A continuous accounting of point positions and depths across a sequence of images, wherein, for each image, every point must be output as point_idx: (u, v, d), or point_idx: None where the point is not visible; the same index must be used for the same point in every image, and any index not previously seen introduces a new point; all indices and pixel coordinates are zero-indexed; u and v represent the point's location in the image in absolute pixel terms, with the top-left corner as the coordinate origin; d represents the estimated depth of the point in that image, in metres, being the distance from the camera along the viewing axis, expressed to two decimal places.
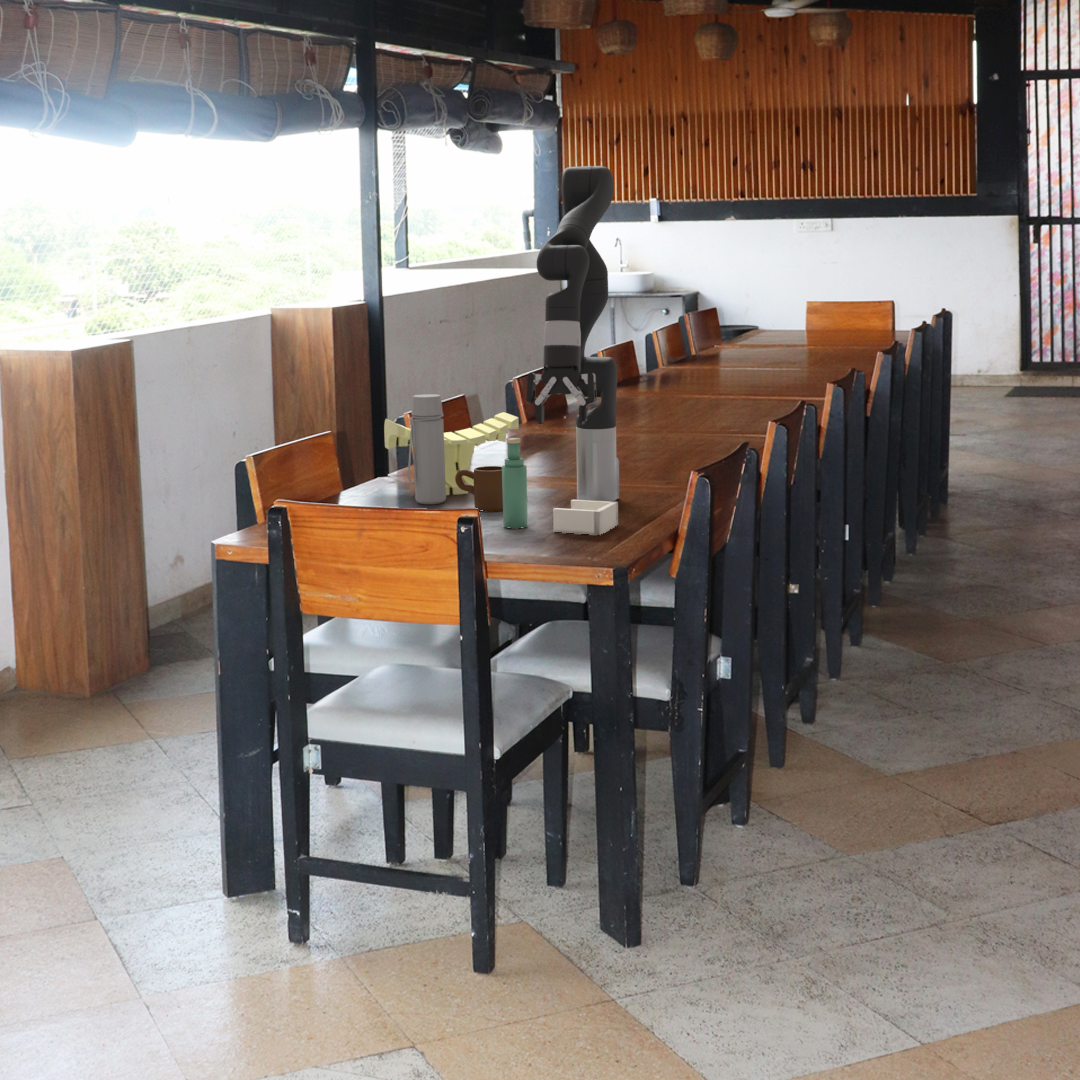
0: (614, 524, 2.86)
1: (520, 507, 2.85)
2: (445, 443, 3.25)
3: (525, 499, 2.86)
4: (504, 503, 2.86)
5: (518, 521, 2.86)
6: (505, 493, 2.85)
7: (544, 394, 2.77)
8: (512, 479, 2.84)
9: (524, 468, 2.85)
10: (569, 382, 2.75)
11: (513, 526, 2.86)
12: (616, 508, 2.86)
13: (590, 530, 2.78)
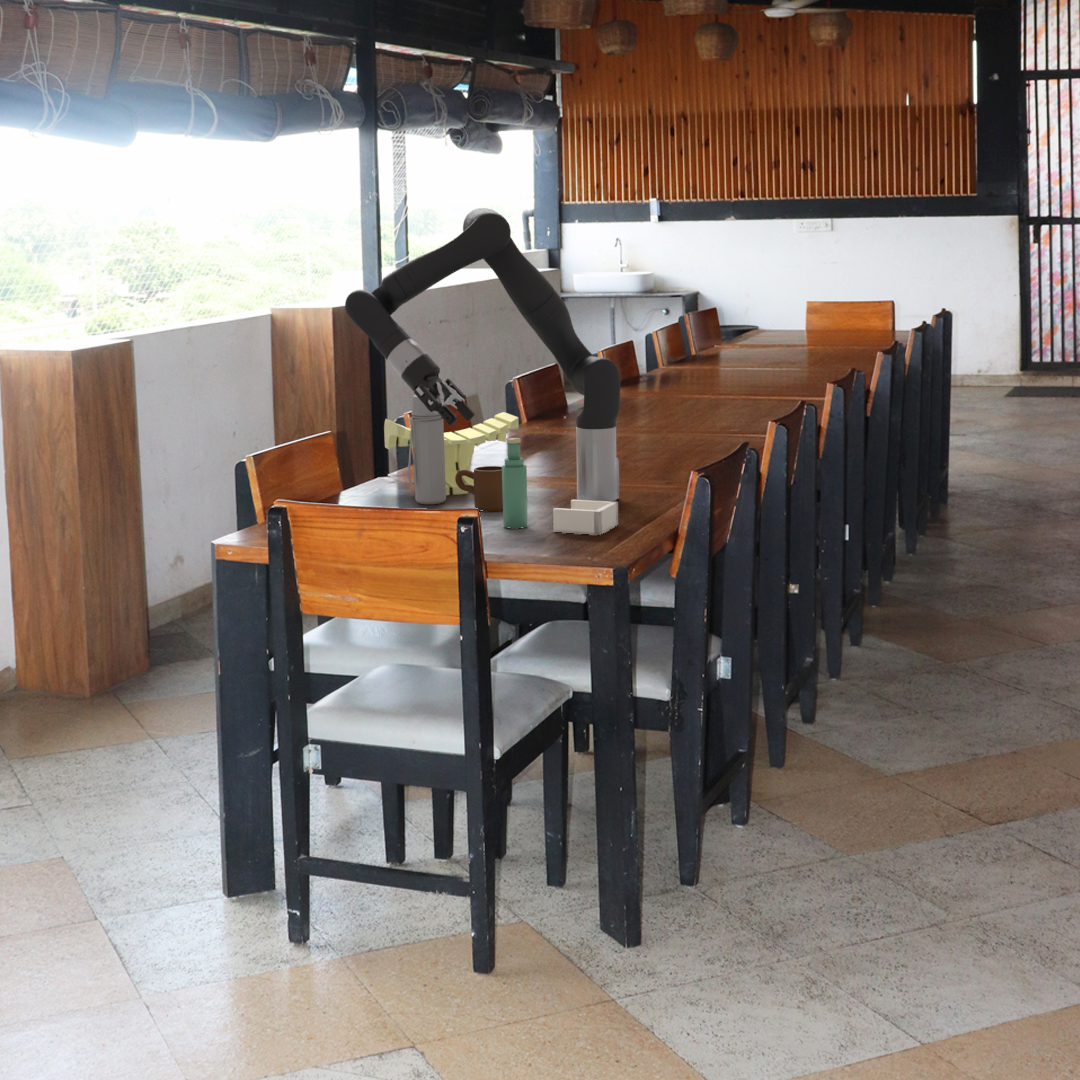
0: (614, 524, 2.86)
1: (520, 507, 2.85)
2: (445, 443, 3.25)
3: (525, 499, 2.86)
4: (504, 503, 2.86)
5: (518, 521, 2.86)
6: (505, 493, 2.85)
7: None
8: (512, 478, 2.84)
9: (524, 468, 2.85)
10: None
11: (513, 526, 2.86)
12: (616, 508, 2.86)
13: (590, 530, 2.78)
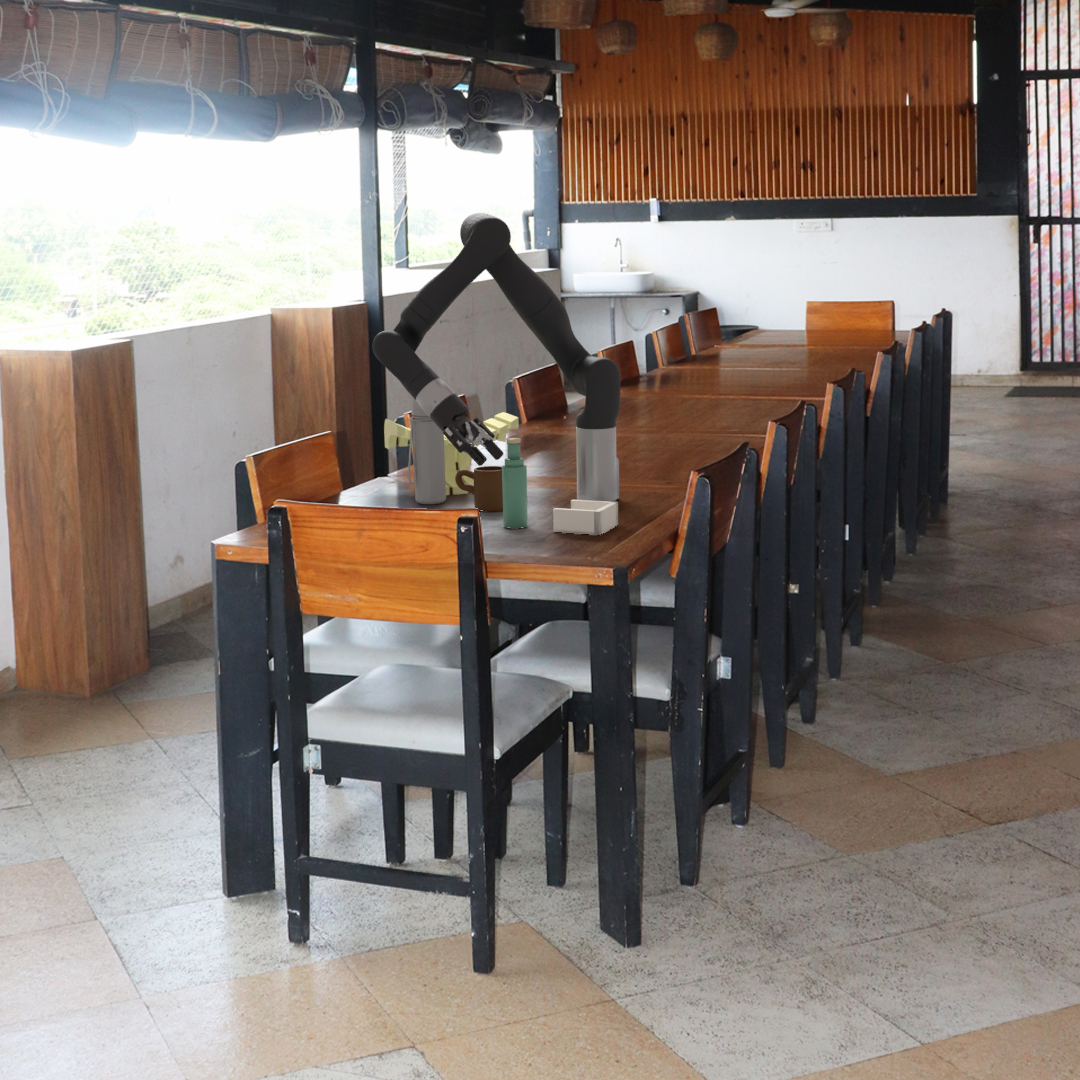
0: (614, 524, 2.86)
1: (520, 507, 2.85)
2: (445, 443, 3.25)
3: (525, 499, 2.86)
4: (504, 503, 2.86)
5: (518, 521, 2.86)
6: (505, 493, 2.85)
7: None
8: (512, 479, 2.84)
9: (524, 468, 2.85)
10: None
11: (513, 526, 2.86)
12: (616, 508, 2.86)
13: (590, 530, 2.78)
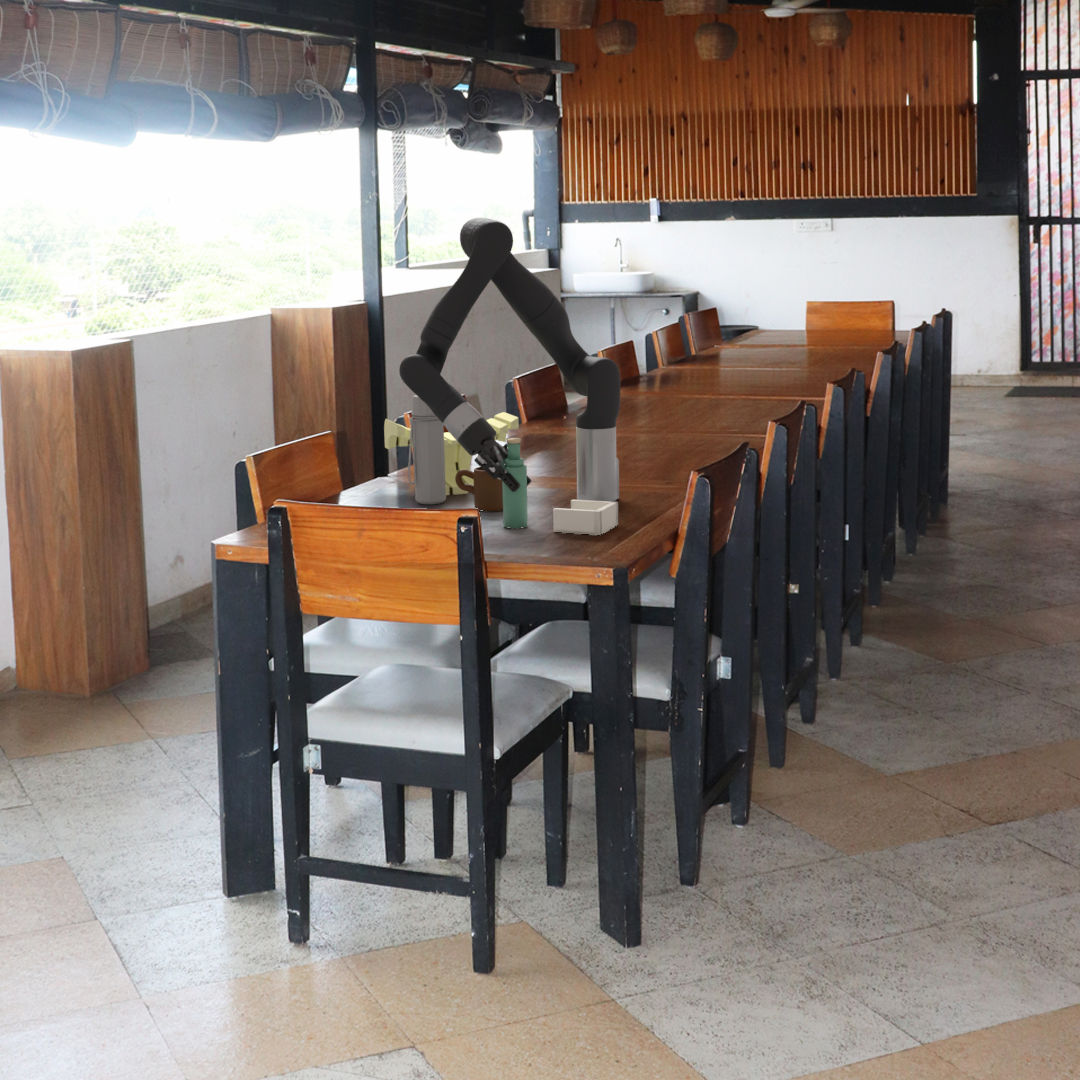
0: (614, 524, 2.86)
1: (520, 507, 2.85)
2: (445, 443, 3.25)
3: (525, 499, 2.86)
4: (504, 503, 2.86)
5: (519, 521, 2.86)
6: (505, 493, 2.85)
7: None
8: None
9: (524, 468, 2.85)
10: None
11: (513, 526, 2.86)
12: (616, 508, 2.86)
13: (590, 530, 2.78)
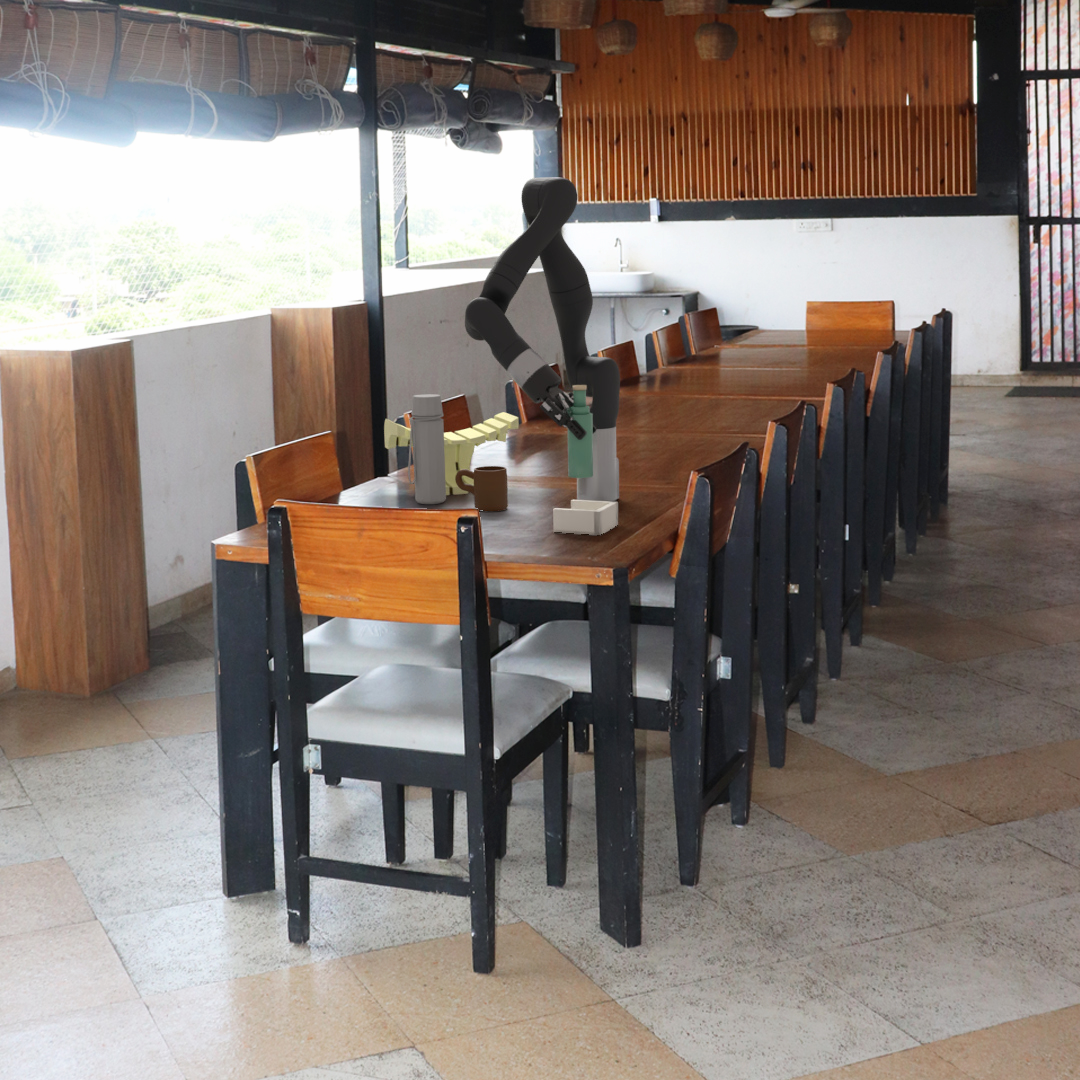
0: (614, 524, 2.86)
1: (586, 455, 2.80)
2: (445, 443, 3.25)
3: (591, 447, 2.80)
4: (569, 451, 2.80)
5: (584, 470, 2.80)
6: (571, 441, 2.80)
7: None
8: None
9: (590, 415, 2.79)
10: None
11: (579, 475, 2.80)
12: (616, 508, 2.86)
13: (590, 530, 2.78)
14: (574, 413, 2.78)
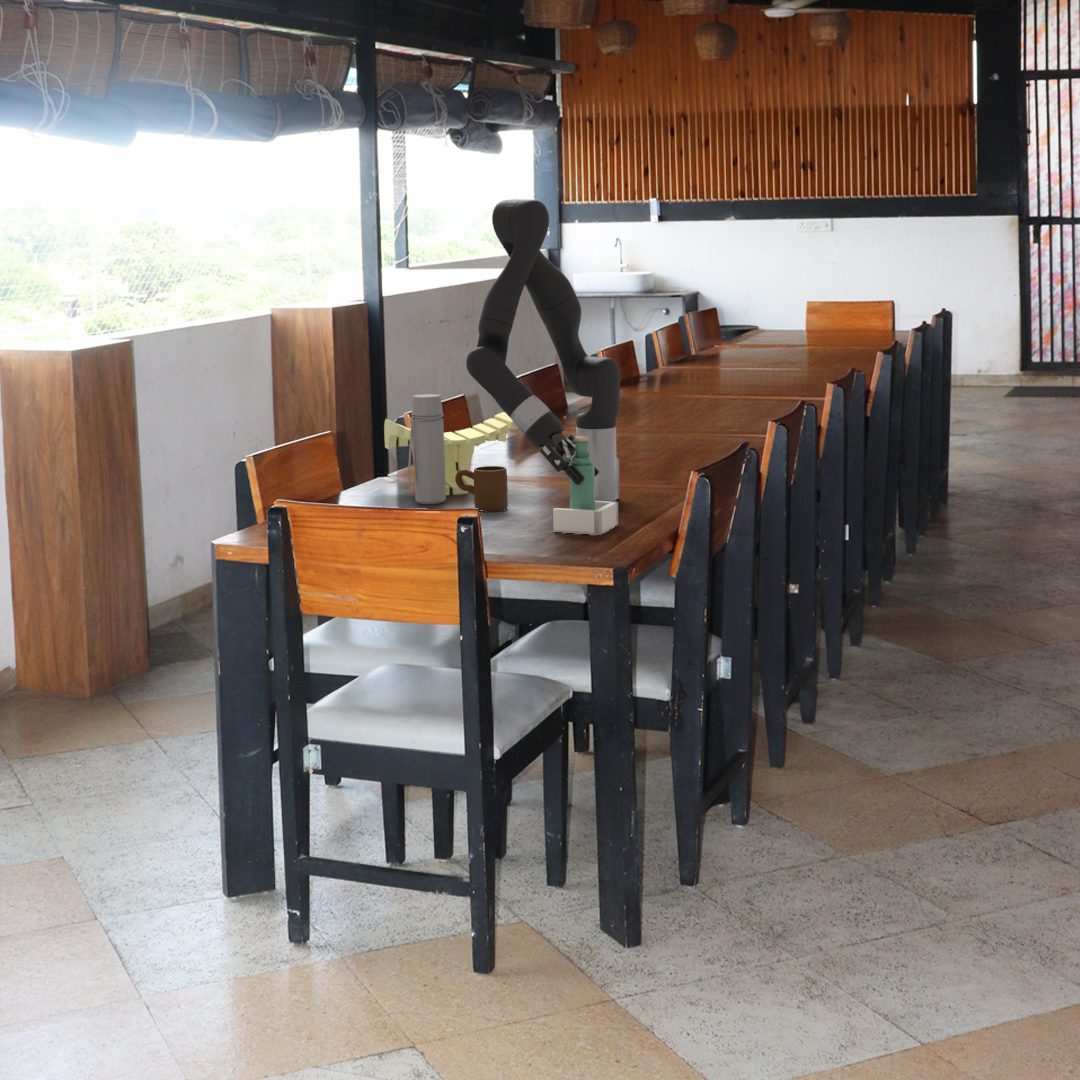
0: (614, 524, 2.86)
1: (588, 506, 2.82)
2: (445, 443, 3.25)
3: (593, 498, 2.82)
4: (572, 502, 2.82)
5: None
6: (573, 492, 2.82)
7: None
8: None
9: (592, 466, 2.81)
10: None
11: None
12: (616, 508, 2.86)
13: (590, 530, 2.78)
14: (576, 464, 2.81)
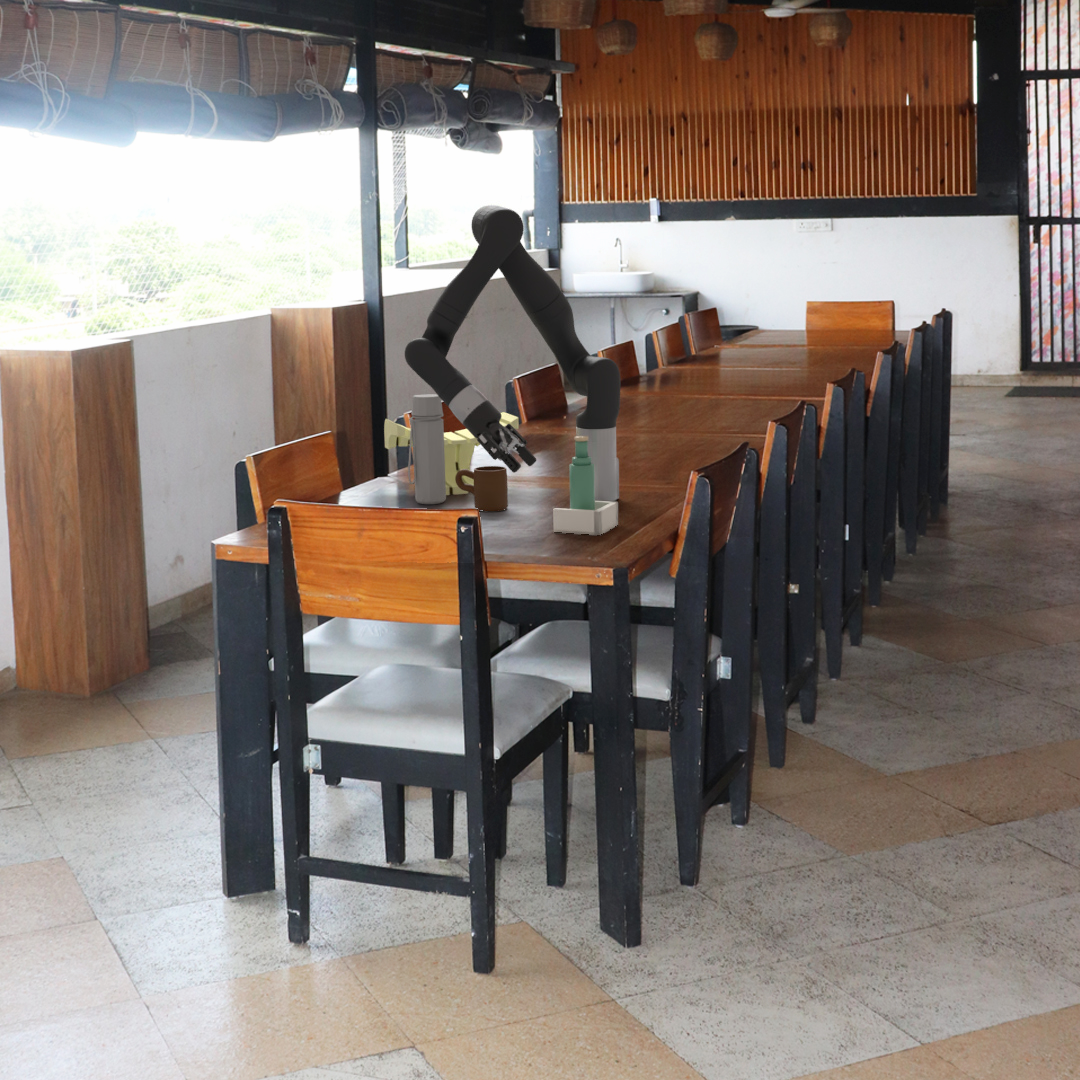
0: (614, 524, 2.86)
1: (588, 506, 2.82)
2: (445, 443, 3.25)
3: (593, 498, 2.82)
4: (571, 502, 2.83)
5: None
6: (573, 492, 2.82)
7: None
8: (580, 477, 2.80)
9: (592, 466, 2.81)
10: None
11: None
12: (616, 508, 2.86)
13: (590, 530, 2.78)
14: (576, 464, 2.81)
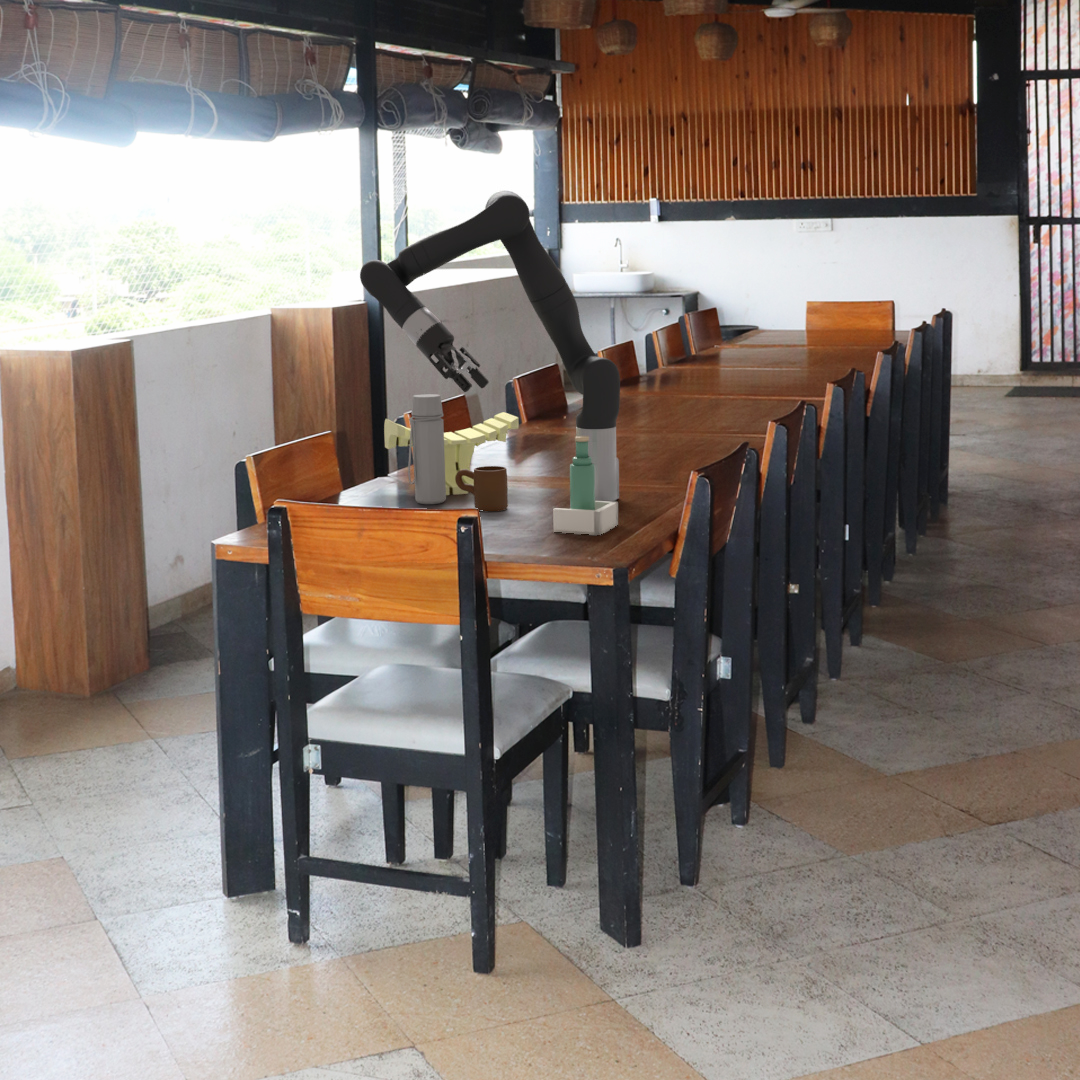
0: (614, 524, 2.86)
1: (588, 506, 2.82)
2: (445, 443, 3.25)
3: (593, 498, 2.82)
4: (572, 502, 2.82)
5: None
6: (573, 492, 2.82)
7: None
8: (580, 477, 2.80)
9: (592, 467, 2.81)
10: None
11: None
12: (616, 508, 2.86)
13: (590, 530, 2.78)
14: (576, 464, 2.80)
